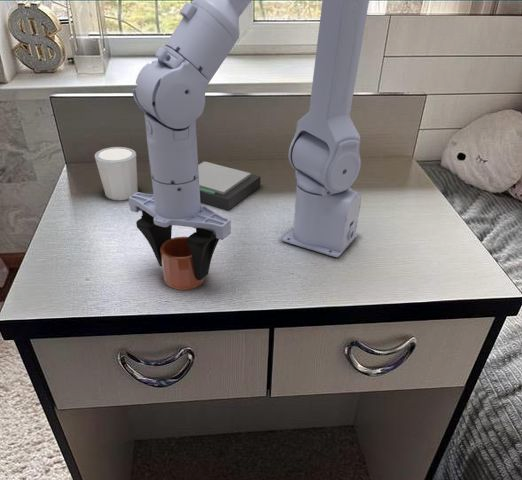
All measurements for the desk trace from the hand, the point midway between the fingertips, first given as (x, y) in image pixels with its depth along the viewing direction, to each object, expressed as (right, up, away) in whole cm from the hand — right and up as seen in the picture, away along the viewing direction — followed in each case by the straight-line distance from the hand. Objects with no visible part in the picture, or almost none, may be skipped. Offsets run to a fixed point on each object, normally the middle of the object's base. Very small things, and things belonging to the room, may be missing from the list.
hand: (183, 269), depth 72 cm
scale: (+2, +18, +22) cm, 29 cm away
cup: (0, -1, +1) cm, 1 cm away
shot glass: (-14, +16, +20) cm, 30 cm away
